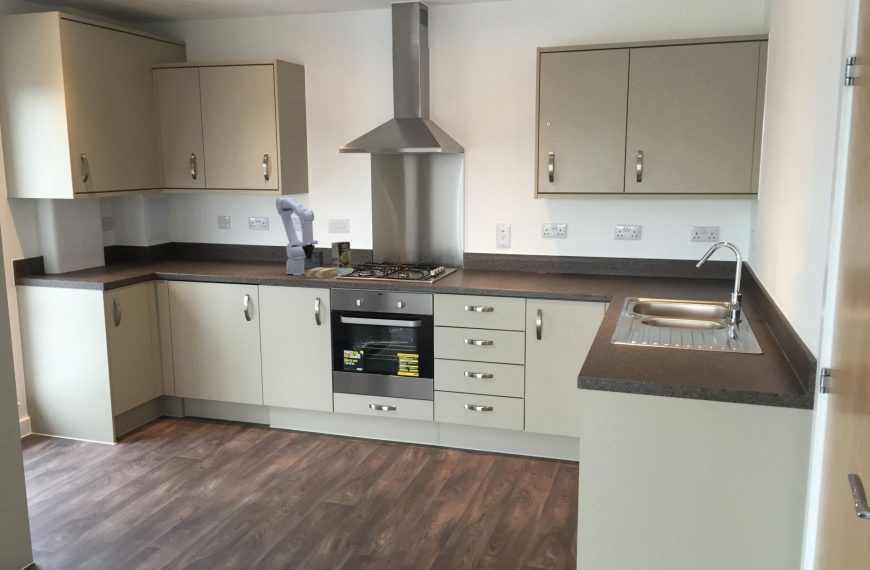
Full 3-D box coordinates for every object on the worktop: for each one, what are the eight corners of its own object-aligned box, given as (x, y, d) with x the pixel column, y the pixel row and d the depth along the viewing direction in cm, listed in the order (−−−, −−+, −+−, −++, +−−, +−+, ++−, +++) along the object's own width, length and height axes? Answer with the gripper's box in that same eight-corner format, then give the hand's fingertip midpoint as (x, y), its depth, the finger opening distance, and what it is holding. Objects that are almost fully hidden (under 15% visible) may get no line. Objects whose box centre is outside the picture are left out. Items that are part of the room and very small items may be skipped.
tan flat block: (306, 277, 391) (305, 270, 391) (318, 274, 401) (318, 267, 400) (325, 278, 385) (325, 271, 384) (337, 275, 395) (337, 268, 394)
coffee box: (340, 271, 410) (339, 243, 407) (332, 270, 414) (330, 242, 411) (351, 269, 417) (350, 241, 415) (343, 268, 421) (342, 241, 419)
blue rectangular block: (334, 269, 406) (334, 271, 407) (327, 270, 401) (327, 273, 401) (347, 269, 402) (347, 272, 402) (340, 271, 397) (340, 273, 397)
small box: (324, 267, 429) (323, 250, 427) (320, 269, 422) (319, 251, 421) (307, 267, 431) (306, 250, 429) (303, 269, 424) (302, 251, 423)
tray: (321, 274, 400) (321, 270, 399) (333, 271, 409) (333, 267, 409) (342, 275, 393) (342, 271, 393) (353, 273, 403) (353, 268, 402)
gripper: (304, 235, 380) (306, 260, 382) (321, 232, 392) (323, 257, 395) (294, 234, 383) (295, 260, 385) (311, 232, 396) (312, 257, 398)
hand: (308, 258), depth 390 cm, fingers closed
